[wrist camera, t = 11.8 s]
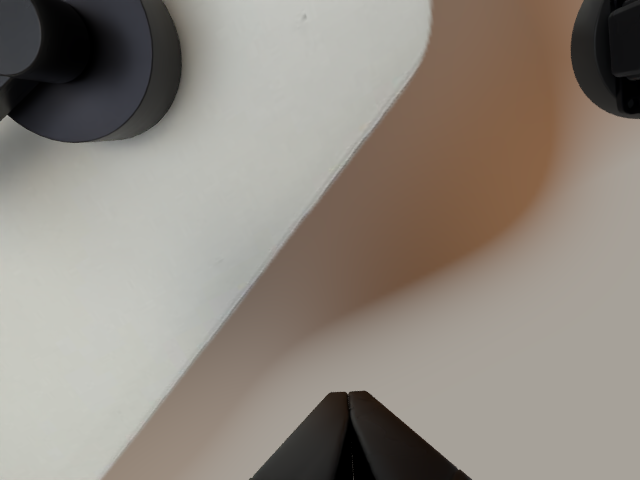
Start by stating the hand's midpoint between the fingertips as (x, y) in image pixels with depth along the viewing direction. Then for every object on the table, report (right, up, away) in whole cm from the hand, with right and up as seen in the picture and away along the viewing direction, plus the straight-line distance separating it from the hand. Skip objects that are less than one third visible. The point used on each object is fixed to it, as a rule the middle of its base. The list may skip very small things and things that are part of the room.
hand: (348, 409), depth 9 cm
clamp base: (-11, +13, +11) cm, 20 cm away
